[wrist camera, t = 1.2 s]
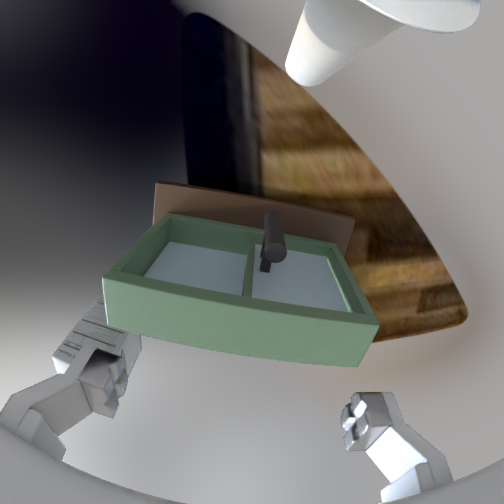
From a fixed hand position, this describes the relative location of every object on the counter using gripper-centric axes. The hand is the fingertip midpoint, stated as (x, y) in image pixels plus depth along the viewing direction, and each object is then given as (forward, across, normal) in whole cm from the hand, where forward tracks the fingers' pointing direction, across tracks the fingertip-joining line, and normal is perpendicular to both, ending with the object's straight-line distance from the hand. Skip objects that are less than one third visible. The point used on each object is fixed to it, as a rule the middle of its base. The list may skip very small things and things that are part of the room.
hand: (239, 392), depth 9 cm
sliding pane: (+20, -4, +1) cm, 20 cm away
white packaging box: (+23, +16, +20) cm, 34 cm away
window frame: (+23, 0, +4) cm, 23 cm away
